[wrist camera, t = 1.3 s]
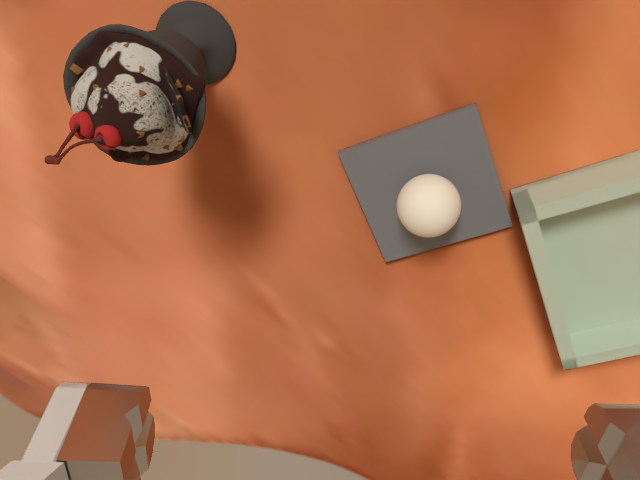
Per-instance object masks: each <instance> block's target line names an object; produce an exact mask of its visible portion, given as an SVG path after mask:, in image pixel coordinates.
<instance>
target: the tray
mask: <svg viewBox="0 0 640 480" xmlns="http://www.w3.org/2000/svg"><path fill="white" fill-rule="evenodd" d="M510 191H511V195H512V198H513V202H514V205H515V209H516V212H517V215H518V219H519V222H520V226H521V229H522V232H523V236H524V239H525V243H526V246H527V250H528V253H529V256H530V260H531V263H532V267H533V270H534V273H535V277H536V280H537V284H538V287H539V291H540V294H541V297H542V301H543V304H544V308H545V311H546V314H547V318H548V321H549V325H550V328H551V332H552V335H553V338H554V342H555V345H556V348H557V351H558V354H559V357H560V360H561V363H562V366H563V369H564V370H567V369H572V368H577V367H582V366H587V365H592V364H596V363H601V362H606V361H611V360H616V359H621V358H625V357H630V356H635V355H640V150H638V151H635V152H632V153H629V154H625V155H622V156H619V157H615V158H612V159H609V160H605V161H602V162H599V163H596V164H592V165H589V166H586V167H582V168H579V169H576V170H572V171H569V172H566V173H563V174H559V175H556V176H553V177H549V178H546V179H543V180H539V181H536V182H533V183H530V184H526V185H523V186H520V187H516V188H513V189H510Z"/></svg>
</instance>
